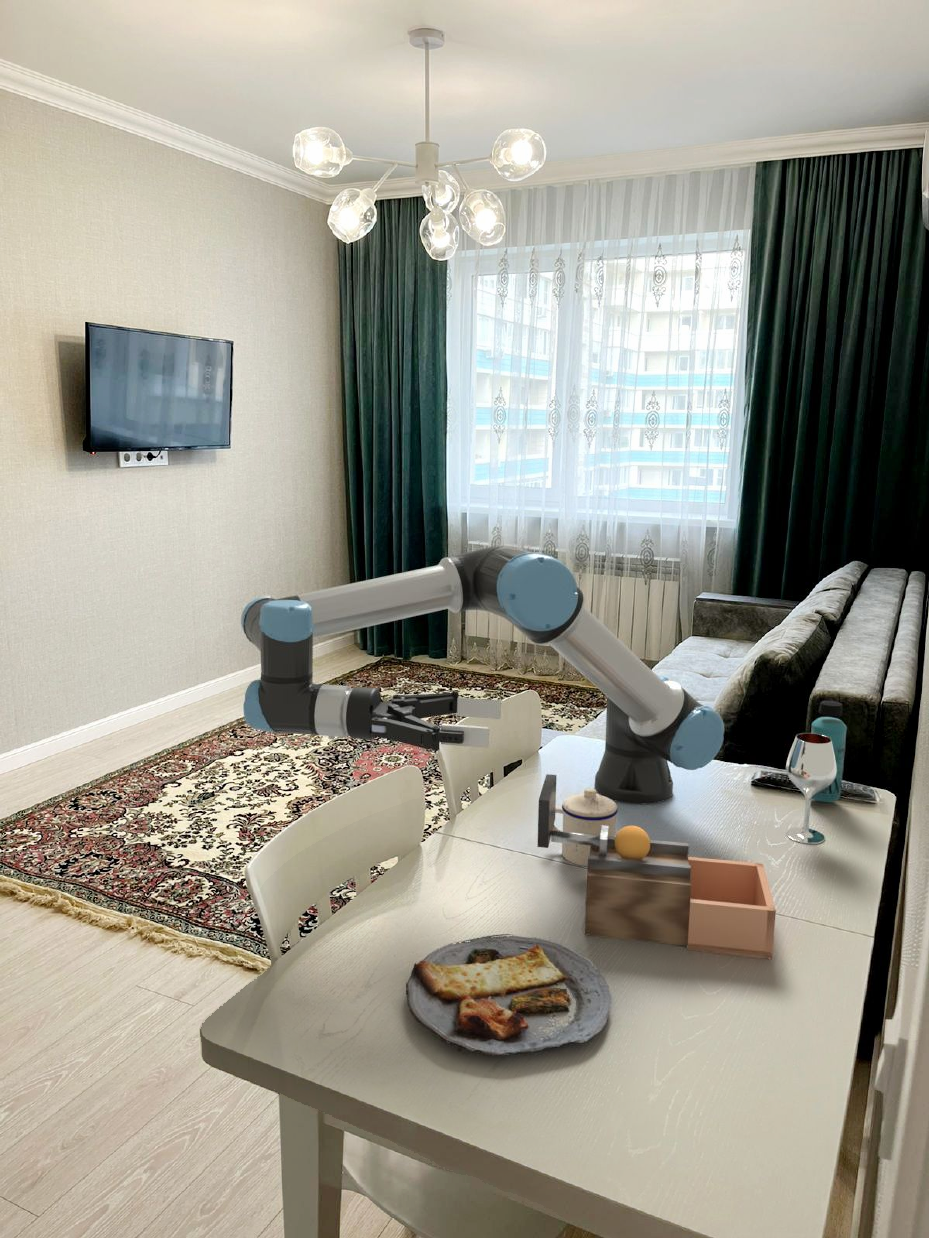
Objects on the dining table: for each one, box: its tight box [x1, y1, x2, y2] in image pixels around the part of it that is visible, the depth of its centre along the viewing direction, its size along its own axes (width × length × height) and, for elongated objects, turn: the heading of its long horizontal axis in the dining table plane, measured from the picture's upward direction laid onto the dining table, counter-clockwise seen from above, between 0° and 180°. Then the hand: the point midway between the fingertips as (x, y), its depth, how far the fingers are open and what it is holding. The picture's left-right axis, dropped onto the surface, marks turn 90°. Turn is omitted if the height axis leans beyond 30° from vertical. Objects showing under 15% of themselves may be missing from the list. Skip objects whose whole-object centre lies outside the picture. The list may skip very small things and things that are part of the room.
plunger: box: [537, 773, 609, 857], centre depth 131 cm, size 10×10×9 cm
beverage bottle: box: [810, 700, 848, 803], centre depth 173 cm, size 6×7×20 cm
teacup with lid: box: [552, 787, 619, 867], centre depth 152 cm, size 12×9×12 cm
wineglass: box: [785, 732, 837, 845], centre depth 158 cm, size 8×8×18 cm
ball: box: [615, 825, 651, 860], centre depth 130 cm, size 5×5×5 cm
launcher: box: [584, 836, 691, 947], centre depth 131 cm, size 14×12×10 cm
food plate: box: [405, 933, 612, 1056], centre depth 112 cm, size 25×23×4 cm
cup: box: [686, 856, 777, 960], centre depth 129 cm, size 11×14×7 cm
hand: (495, 722), depth 131 cm, fingers open, 13 cm apart
